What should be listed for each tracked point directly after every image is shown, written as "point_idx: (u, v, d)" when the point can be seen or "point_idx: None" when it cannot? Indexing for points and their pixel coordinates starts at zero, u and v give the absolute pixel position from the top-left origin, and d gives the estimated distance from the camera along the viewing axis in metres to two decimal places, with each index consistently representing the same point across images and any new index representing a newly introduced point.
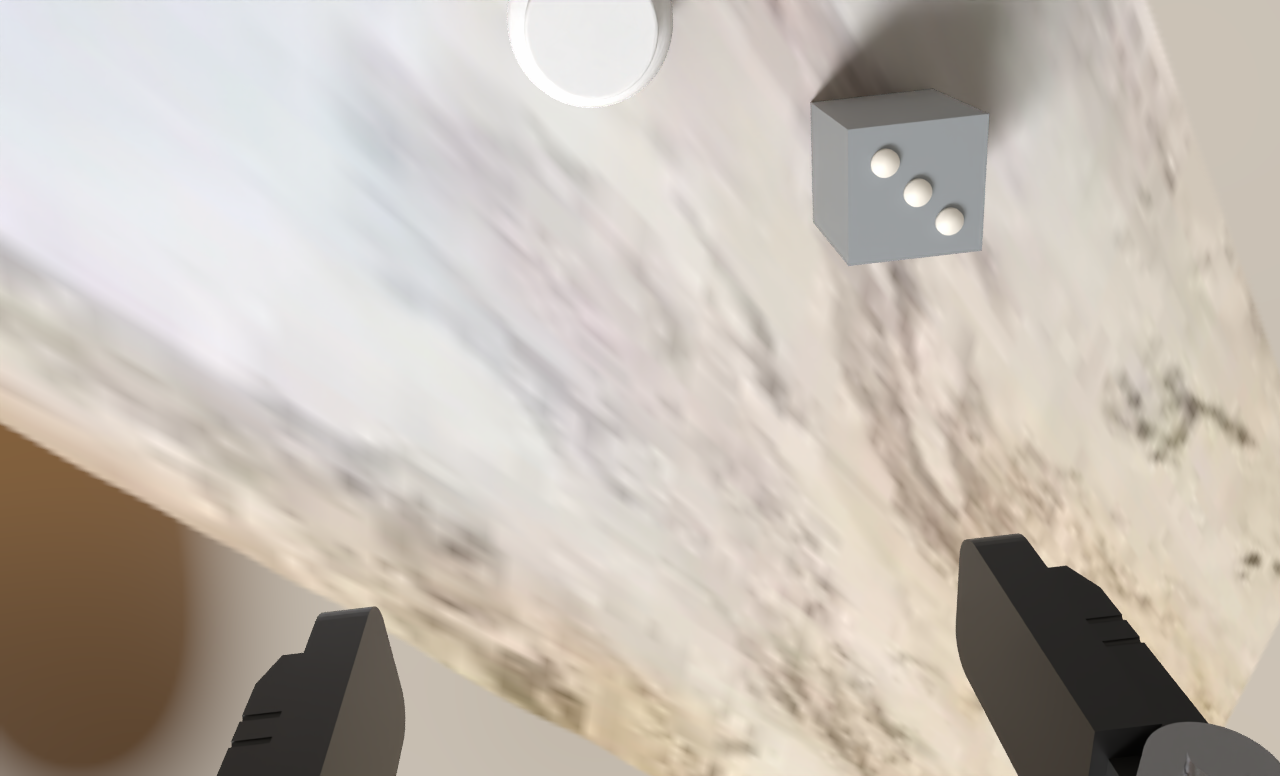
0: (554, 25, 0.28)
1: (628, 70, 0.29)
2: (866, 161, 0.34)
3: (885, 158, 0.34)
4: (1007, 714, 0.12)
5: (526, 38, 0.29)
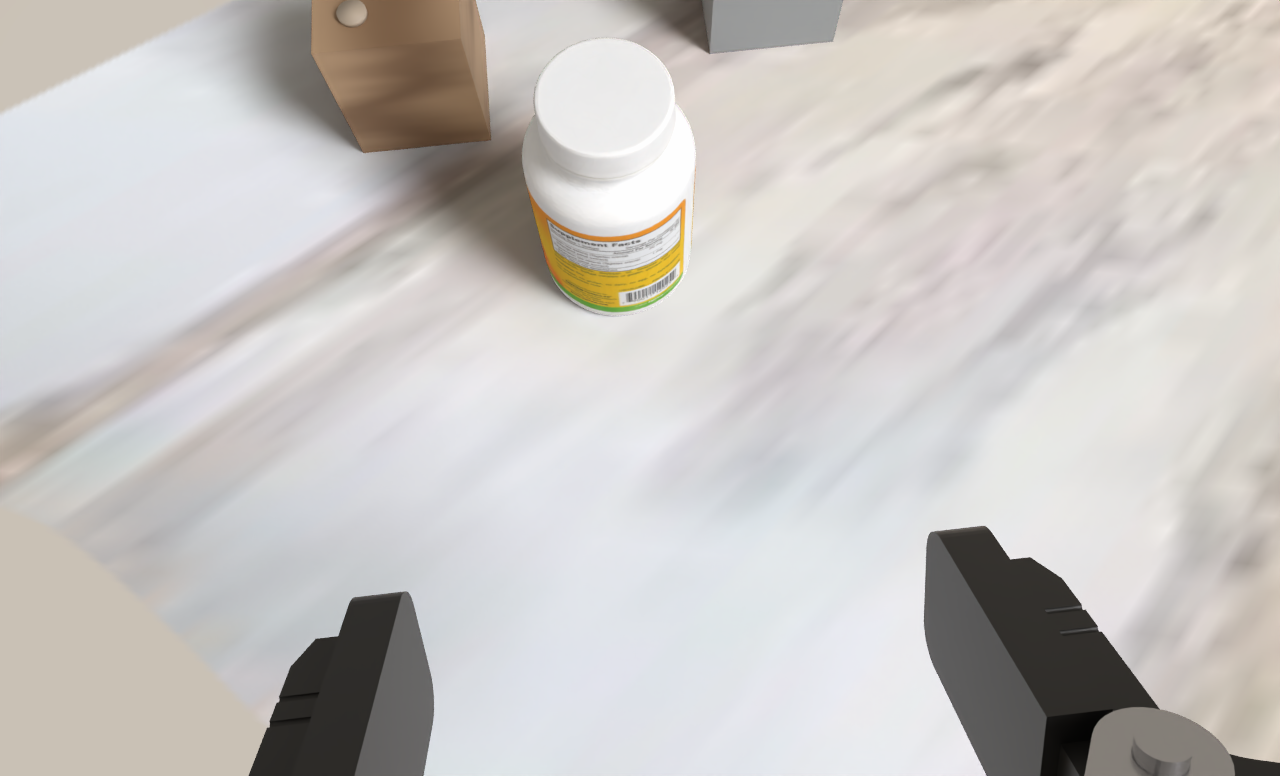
0: (597, 127, 0.27)
1: (643, 61, 0.27)
2: None
3: None
4: (970, 702, 0.12)
5: (610, 154, 0.27)
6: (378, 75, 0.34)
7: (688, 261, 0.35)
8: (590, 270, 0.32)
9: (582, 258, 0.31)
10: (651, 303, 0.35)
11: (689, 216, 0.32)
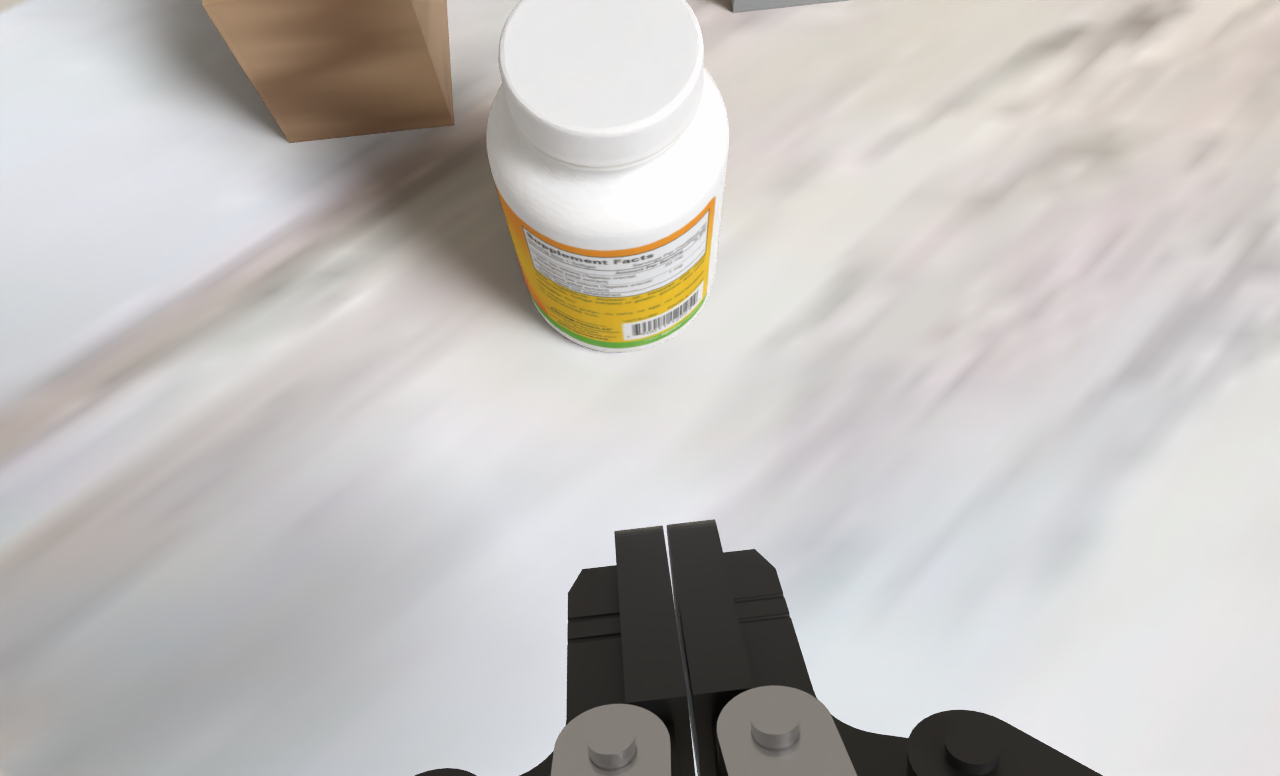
0: (591, 93, 0.18)
1: None
2: None
3: None
4: (686, 685, 0.13)
5: (610, 130, 0.18)
6: (297, 35, 0.25)
7: (713, 279, 0.27)
8: (584, 295, 0.23)
9: (573, 280, 0.23)
10: (665, 336, 0.26)
11: (718, 220, 0.23)
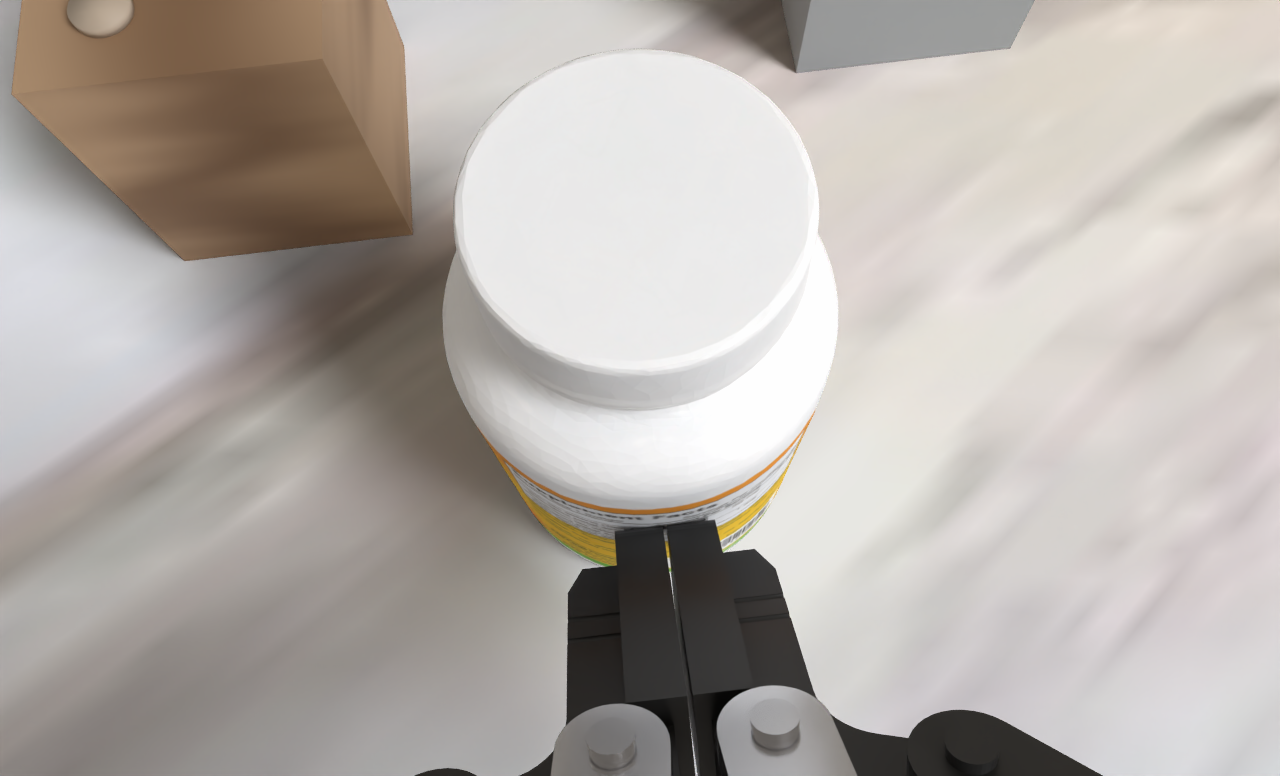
0: (621, 290, 0.10)
1: (731, 107, 0.11)
2: None
3: None
4: (686, 685, 0.13)
5: (659, 365, 0.10)
6: (169, 131, 0.17)
7: None
8: (603, 537, 0.15)
9: (586, 525, 0.14)
10: None
11: None
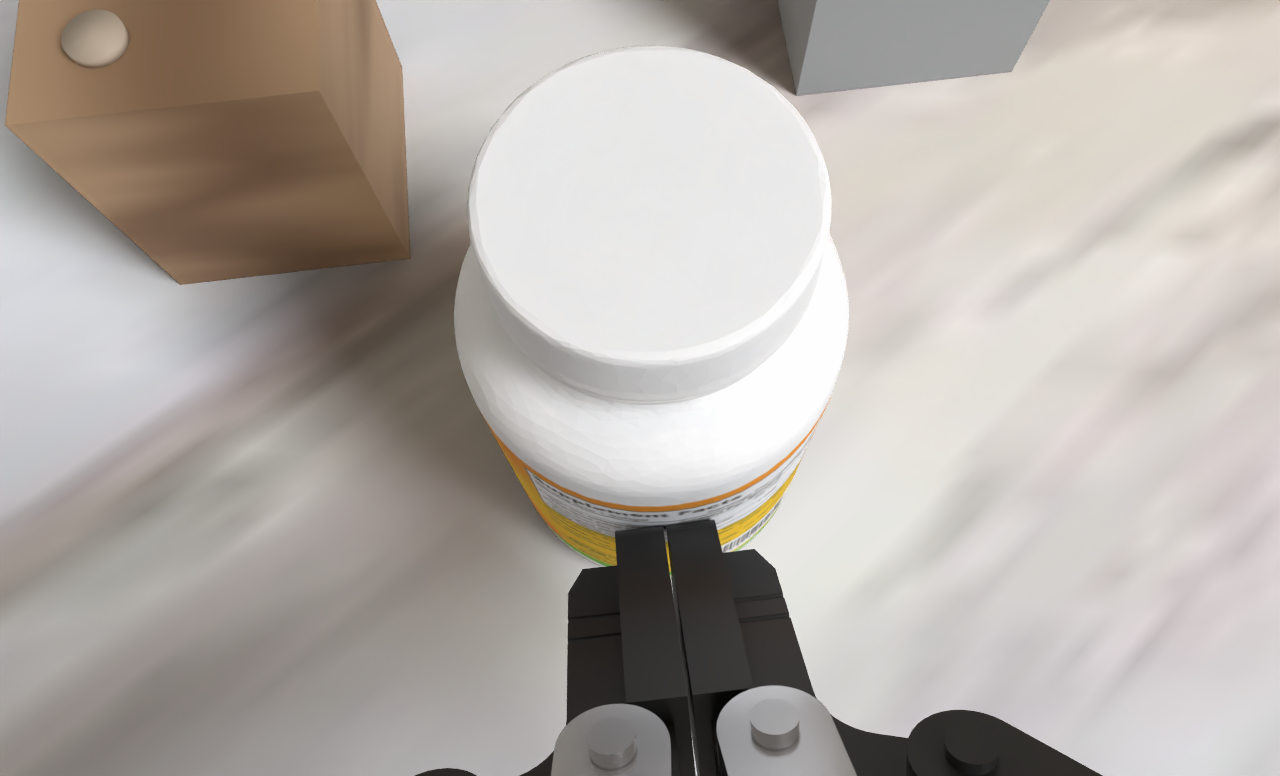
0: (643, 284, 0.10)
1: (736, 97, 0.11)
2: None
3: None
4: (685, 685, 0.13)
5: (687, 354, 0.10)
6: (164, 160, 0.17)
7: None
8: None
9: (608, 528, 0.14)
10: None
11: None
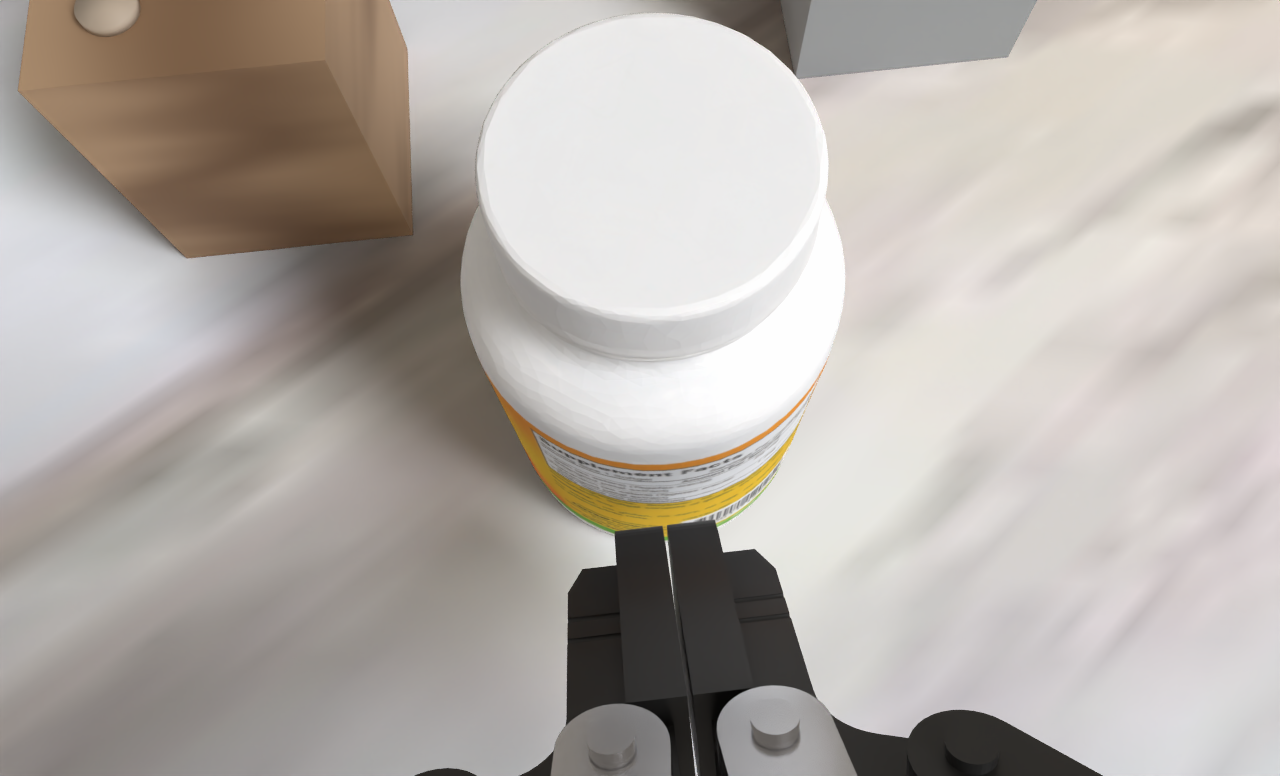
0: (647, 242, 0.10)
1: (734, 62, 0.11)
2: None
3: None
4: (686, 686, 0.13)
5: (691, 309, 0.10)
6: (173, 129, 0.17)
7: None
8: (629, 502, 0.15)
9: (613, 489, 0.15)
10: (736, 515, 0.18)
11: None
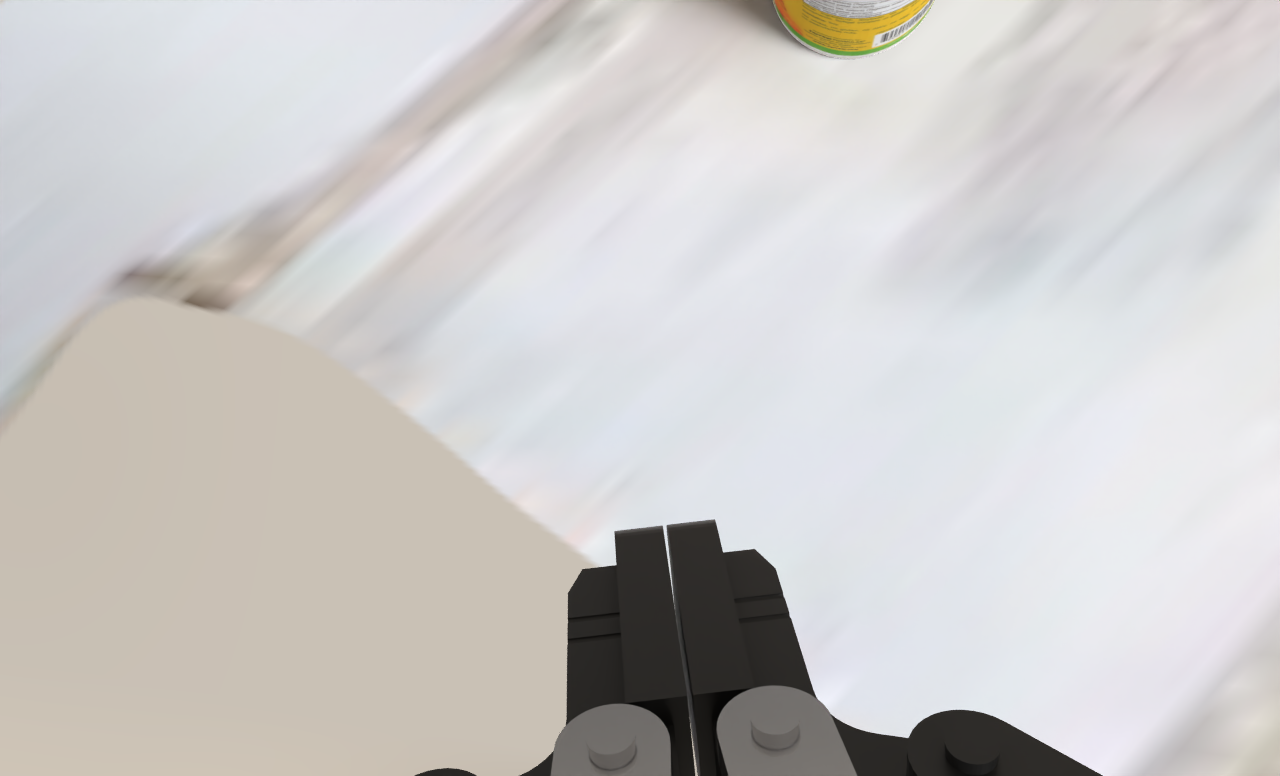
0: None
1: None
2: None
3: None
4: (686, 686, 0.13)
5: None
6: None
7: None
8: (849, 18, 0.28)
9: (842, 8, 0.27)
10: (904, 37, 0.31)
11: None
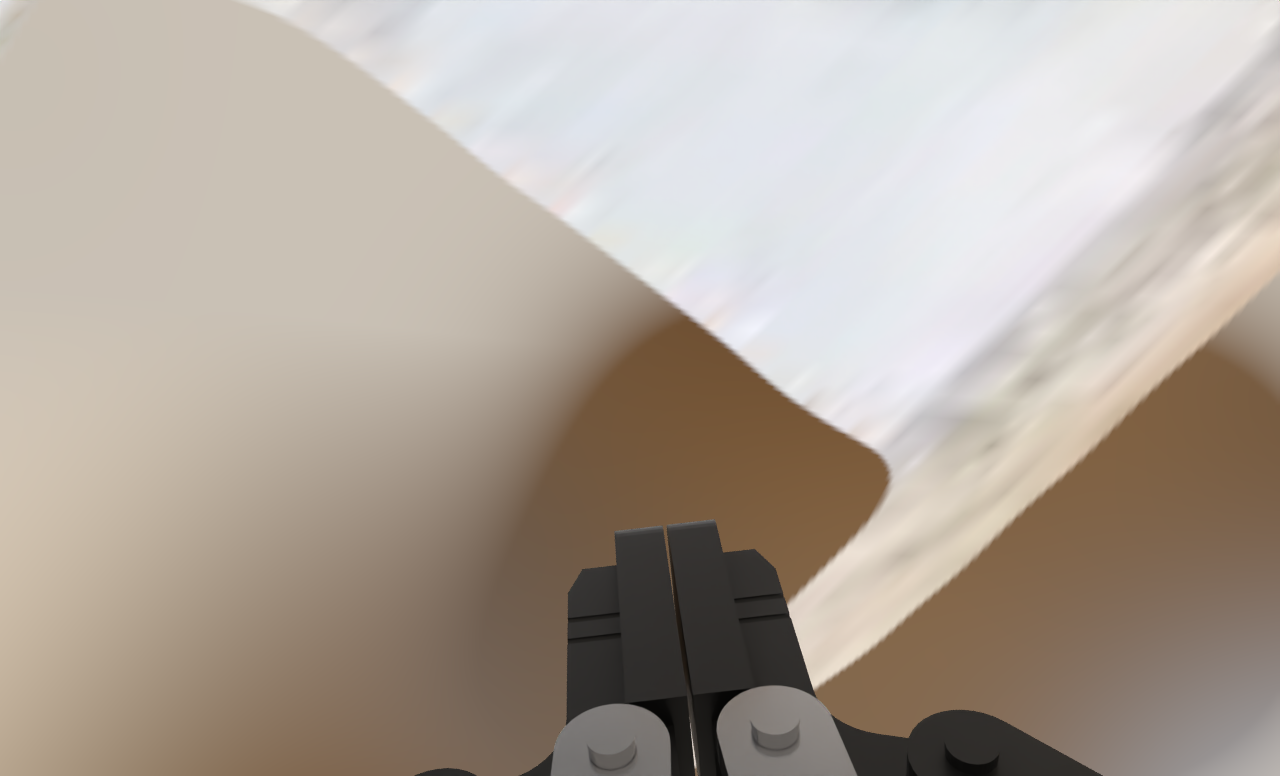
0: None
1: None
2: None
3: None
4: (686, 685, 0.13)
5: None
6: None
7: None
8: None
9: None
10: None
11: None
